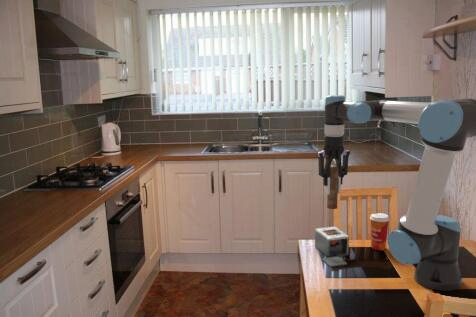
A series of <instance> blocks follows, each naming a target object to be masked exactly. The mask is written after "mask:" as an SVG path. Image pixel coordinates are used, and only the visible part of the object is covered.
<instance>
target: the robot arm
mask: <svg viewBox="0 0 476 317" xmlns="http://www.w3.org/2000/svg"><path fill="white" fill-rule="evenodd" d="M324 101H325V102H324V131H323V132H324V137H323V139H324V140H323V143H324V144H323V145H324V147H323V149H322V150H321V151H317V152H316V154H317V157H318V176H320V177H321V178H323V179H322V180H323V182H322V183H323V186H324V193H325V194H326V195H327V194H330V178H328V176H329V171H330V167H331V165H332V162H333V160H335V166H338V194H341V186H342V185H343V182H344V181H343V180H344V179H343V178H344V177H345V176H347V175H348V171H349V158H350V155H351V150H348V149H345V147H344V145H345V137H344V135H345V122H347V123H354V124H365V123H367V122H372V121H374V122H375V121H381V122H382V121H383V122H394V123H395V122H396V123H405V124H414V125H415V124H416V125H417V126H418V127H417V128H418V129H419V134H420V135H421V141H420V142H421V143H422V144H423V146H424V150H423V154H422V157H421V162H420V166H419V169H418V172H417V176H416V178H415V184H414V186H413V187H414V188H413V191H412V195H411V198H410V201H409V205H408V209H407V213H406V214H404V215H402V216H401V217H400V220H399V222H398V226H397V229H393V230H392V231H390V233H388V234H387V240H386V243H387V247H388V249H389V251H390V254H391V255H392V256H393V258H394V259H395V260H396V261H398V262H399V263H401V264H402V265H406V266H407V265H408V266H410V265H416V264H417V266H416V268H415V269H414V276H413V277H414V278H413V279H414V280H415V281H416V283H418V284H420V285H421V286H424V287H425V288H429V289H431V290H437V291H447V292H449V291H456V290H458V289H460V288H461V287H462V284H463V277H462V273H461V270H460V265H459V262H458V260H459V253H460V252H459V250H460V238H461V232H462V231H461V223H460V222H459V221H458V220H457V219H455V218H454V217H450V216H446V215H441V214H438V213H439V210H440V207H441V204H442V200H443V197H444V193H445V191H446V189H447V188H446V187H447V184H448V181H449V177H450V174H451V170H452V167H453V164H454V161H455V158H456V156H457V154H459V153H461V152H463V150H464V148H465V145H466V141H467V139H469V138H473V137H476V98H460V99H459V98H458V99H441V100H438V101H434V102H429V101H427V102H425V101H424V102H423V101H404V100H403V101H402V100H389V99H378V100H365V101H363V100H362V101H347V100H346V96H345V95H340V94H339V95H338V94H330V95H327V96H326V97H325V100H324Z"/></svg>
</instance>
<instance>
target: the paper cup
mask: <svg viewBox="0 0 476 317" xmlns="http://www.w3.org/2000/svg"><path fill="white" fill-rule="evenodd" d="M369 220H370V235H371V236H370V241H371V242H370V244H371V245H370V246H371V249H372V250H375V251H385V250H386V246H387V240H388V231H389V221H390V218H389V215H388V214H387V213H383V212H382V213H381V212H380V213H379V212H378V213H371V214H370V217H369ZM384 249H385V250H384Z"/></svg>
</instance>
